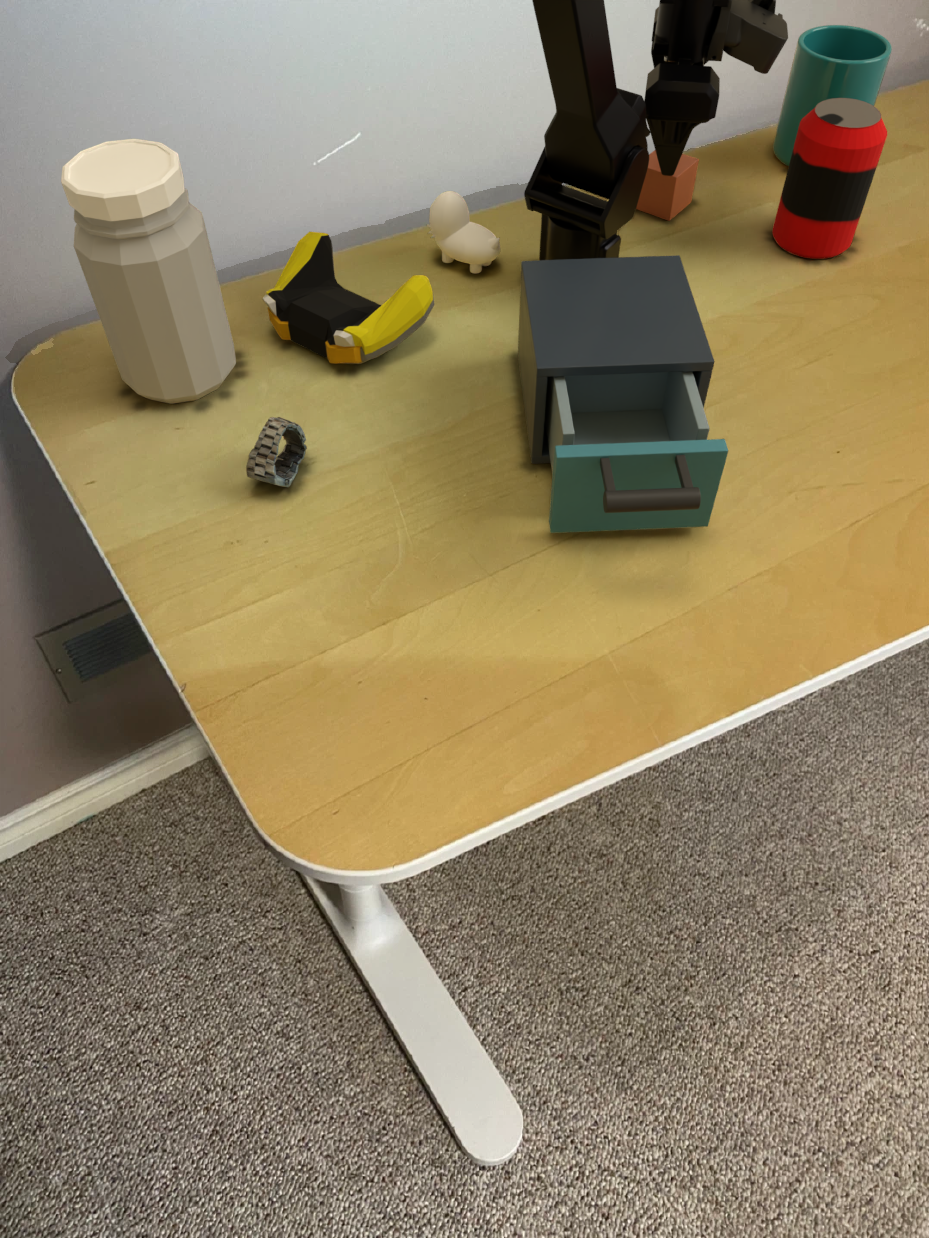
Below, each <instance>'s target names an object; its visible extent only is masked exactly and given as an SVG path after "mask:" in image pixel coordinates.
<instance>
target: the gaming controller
mask: <svg viewBox="0 0 929 1238" xmlns="http://www.w3.org/2000/svg"><path fill="white" fill-rule="evenodd" d="M262 301H263V302H264V303H265V305H266V306H267V313H268V319H269V321H270V323H271V325H272V327H273V328H274V330H275V332H276V334H277V336H279V337H280V339H281V340H282V341H283V340H286V341H291V342H292V343H294V344H297V345H298V346H300V347H303V349H306V350H307V351H310V352H313V353H314V354H316V355H319V356H321V357H322V358H325V359H326V360H328V362H329V364H347V365H348V364H350V365H362V364H364V363H366V362H368V361H370V360H373V359H376V358H378V357H381V356H382V355H384V354H385V353H387V352H389V351H391V350H393V349H395V348H397V347H398V346H399V345H400V344H401V343H402V342H404V341H405V340H407V338H409V337H410V336H411V335H413V333H414V332H415V331H417V330H418V329H420V327H422V326H423V325H424V324H425V322H426V321H427V320H428V317H429V315H430V314H431V312H432V311H433V308H434V306H435V296H434V292H433V288H432V285H431V282H430V279H429V277H427V276H426V275H421V274H420V275H419V274H418V275H417V274H413V275H412V276H411V277H410V278H409V279H408V280H406V281H405V282H404V283H403V284H402V285H401V286H400V287H399V288H398V289H397V290H396V291H395V292H394V293H393V294H392V296H390V297H389V298H388V299H387V300H386V301H385V302H383V303H382V304H379V303H378V302H376V301H373V300H371V299H370V298H369V299H368V298H366V297H364V296H362V295H360V294H358V293H355V292H353V291H351V290H350V289H349V290H348V289H346V288H344V287H343V286H342V285H341V284H340V283H339V282H338V281H337V278H336V273H335V261H334V248H333V242H332V239H331V237H330V234H329V233H325V232H319V231H308V232H307V233H306V234H305V235H304V236H303V237H302V238H300V239H299V240H298V241H297V243H296V245H295V247H294V249H293V250H292V253H291V255H290V257H289V258H288V260H287V262H286V264H285V266H284V268H283V270H282V272H281V274H280V276H279V277H278V280H277V282H276V283H275V285H274V287H273V288H270V289H268V290H267V291H265V295H264V296H263V297H262Z"/></svg>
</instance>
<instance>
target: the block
mask: <svg viewBox="0 0 929 1238" xmlns="http://www.w3.org/2000/svg"><path fill="white" fill-rule="evenodd" d="M699 161H700V159H699V158H697V157H694V156H691V155H688V154H686V153H685V154H684V153H682V156H681V158H680V161H679V163H678V165H677V168H676V170H675V173H674V175H673V176H664V175H662V173H661V170H660V166H659V162H658V158H657V155H656V151H655V149H654V150H653V151H651V152H650V153H649V165H648V169H647V173H646V176H645V180H644V183H643V186H642V190H641V193H640V197H639V200H638V204H637V207H636V210H638V211H640V212H643V213H646V214H649V215H650V216H651V215H652V216H654V217H657V218H659V219H662V220H664V221H668V222H670V221H672V219H674V218H675V217H676V216H677V215H678V214H680V213H681V212H682V211H683V210H684V209H686V208H687V207H688V206H689V205H690V204H691V203H692V201H693V195H694V189H695V184H696V178H697V173H698V167H699Z"/></svg>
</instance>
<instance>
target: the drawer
mask: <svg viewBox="0 0 929 1238" xmlns="http://www.w3.org/2000/svg"><path fill="white" fill-rule="evenodd" d="M705 411H706V410H705V407H704V408H703V405H702V401H701V398H700V395H699V392H698V388H697V385H696V382H695V378H694V375H693V372H692V371H682V372H656V373H630V374H604V375H578V376H552V377H547V391H546V406H545V420H544V421H545V428H546V434H547V441H548V448H549V455H550V462H551V463H550V467H551V475H552V476H551V477H552V478H551V489H550V502H549V512H548V513H549V514H548V526H549V532H550V534H559V533H560V534H563V533H565V534H566V533H583V532H584V533H585V532H587V533H588V532H606V531H607V532H609V531H610V532H611V531H633V530H636V531H637V530H661V529H662V530H663V529H682V528H683V529H685V528H686V529H687V528H707V527H709V523H710V521H711V520H710V519H711V517H712V513H713V509H714V505H715V502H716V498H717V494H718V492H719V487H720V483H721V479H722V476H723V473H724V468H725V465H726V460H727V457H728V454H729V448H728V444H727V441H726V439H725V438H715V439H712V438H711V439H708V437H709V433H710V425H709V421H708V418H707V416H706V415H707V414H706V412H705Z"/></svg>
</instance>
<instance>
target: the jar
mask: <svg viewBox="0 0 929 1238" xmlns="http://www.w3.org/2000/svg"><path fill="white" fill-rule="evenodd" d="M61 168H62V169H61V178H60V184H61V186H62V188H63V191H64V195H65V197H66V200H67V202H68V205H69V206H70V207H71V208H72V209H74V210H73V220H74V223H75V226H74V233H73V234H74V235H73V248H74V252H75V254H76V257H77V260H78V263H79V265H80V268H81V270H82V273H83V276H84V278H85V281H86V284H87V287H88V290H89V292H90V296H91V298H92V300H93V304H94V306H95V309H96V312H97V314H98V317H99V320H100V323H101V326H102V329H103V331H104V334H105V336H106V339H107V343H108V345H109V347H110V350H111V353H112V356H113V358H114V361H115V364H116V366H117V370H118V372H119V375H120V378H121V380H122V381H123V382H124V383H125V384H126V385H128V386H129V388H130V389H132V391H134V392H135V393H136V394H137V395H139V396H141V397H143V398H146V399H148V400H151V401H156V402H160V403H166V404H170V405H171V404H172V405H173V404H178V403H184V402H185V403H186V402H193V401H198V400H199V399H201V398H203V397H205V396H207V395H209V394H211V393H213V392H215V391H217V390H218V389H219V388H220V387H221V386H222V384H223V383H224V381H225V380H226V379H227V378H228V376H229V375H230V373H231V372H232V371H233V369H234V368H235V366H236V365H237V359H236V349H235V343H234V339H233V335H232V330H231V327H230V323H229V318H228V314H227V310H226V307H225V303H224V297H223V294H222V290H221V285H220V282H219V281H220V280H219V277H218V273H217V268H216V264H215V261H214V256H213V252H212V248H211V243H210V240H209V239H210V238H209V235H208V232H207V227H206V224H205V220H204V219H205V218H204V215H203V212H202V211H201V210H200V209H198V207H196V206H195V205H194V204H193V203H191V202H190V199H189V191H188V189H187V188H185V177H184V174H183V169H182V165H181V161H180V156H179V153H178V152H177V151H176V150H173V149H172V148H170V146H168V145H166V144H164V143H163V142H159V141H153V140H146V139H140V138H128V139H118V140H109V141H104V142H100V143H99V144H96V145H93V146H90V147H87V148H85V149H82V150H80V151H79V152H78V153H76V154H75V155H74V156H73V157H72V158H71V159H70V160H68V161H67V162H66V163H65V164H64V165H63V166H62V167H61Z"/></svg>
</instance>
